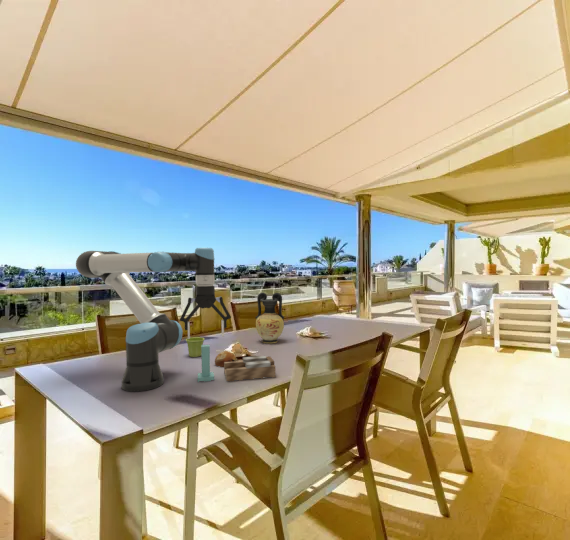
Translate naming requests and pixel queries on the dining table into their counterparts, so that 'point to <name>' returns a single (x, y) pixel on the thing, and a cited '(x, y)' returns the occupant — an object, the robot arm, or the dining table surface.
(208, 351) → the t post
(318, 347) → the dining table surface
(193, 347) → the plant pot
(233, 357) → the bread roll
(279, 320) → the amphora
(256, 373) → the slot board
